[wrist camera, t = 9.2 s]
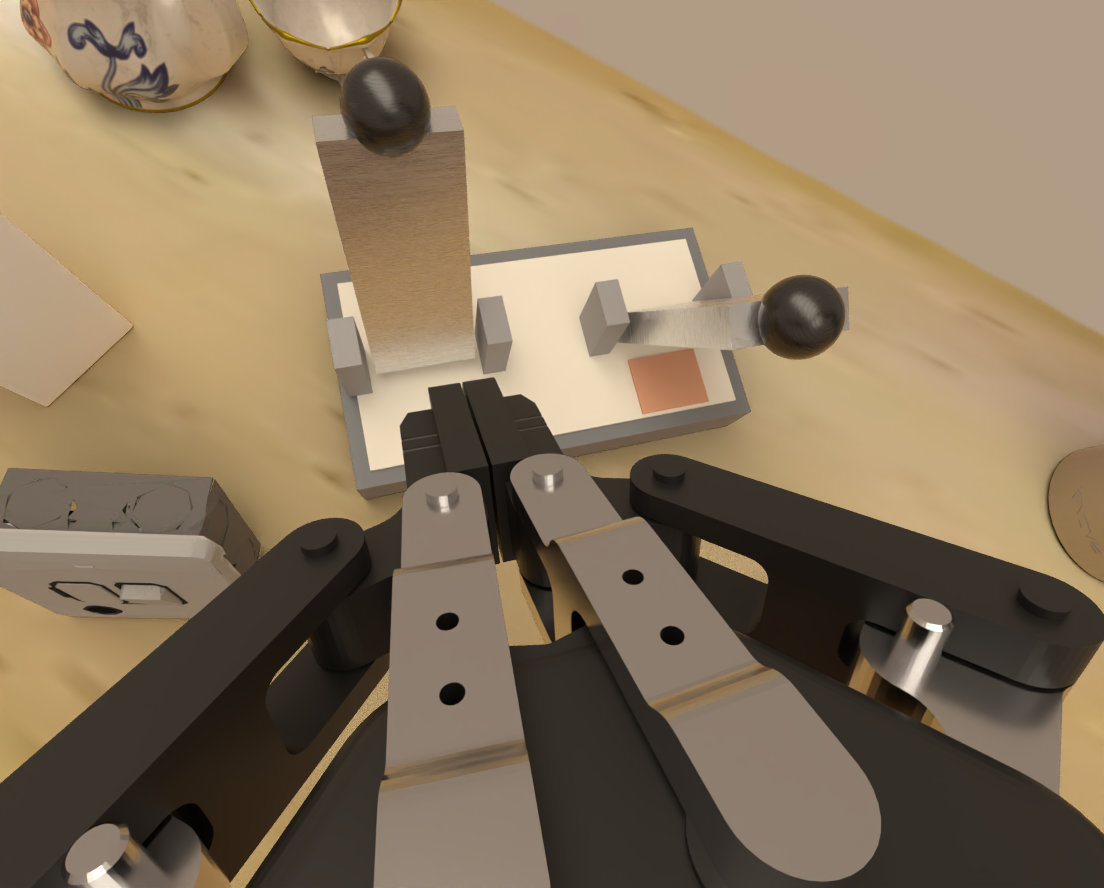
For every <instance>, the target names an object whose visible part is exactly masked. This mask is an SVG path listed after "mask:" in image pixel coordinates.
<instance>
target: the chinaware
mask: <svg viewBox="0 0 1104 888" xmlns="http://www.w3.org/2000/svg"><path fill="white" fill-rule="evenodd" d="M249 1H250V2H251V4H252V5H253V7H254V8H255V10H256V11H257V13H258V14H259V15H260V16H261V17H262V20H263V21H264V22H265V23H266V24H267V26H268V27H269V28H270V29H271V30H272V31H273V32H274V33H276V34H277V36H278V38H279V39H280V41H281V42H282V43H283V45H284V46H285V47H286V48H287V49H288V50H289V51H290V52H291V53H292V54H293V55H294V56H295V57H296V58H297V59H298V60H300V61H301V62H303V63H304V64H305V65H307V66H309V67H311V68H312V69H315V71H314V72H315V73H322V74H324V75H325V76H327V77H329V78H331V79H334V80H336V81H338V82H339V84H340V85H342V83H343V81H344V79H345V77H346V75H347V74H348V72H349V71H350V70H351V69H352V68H353V67H354V66H355V65H356V64H357V63H359V62H361V61H362V60H365V59H367V58H371V57H378V56H379V55H380V53H381V52H382V50H383V48H384V46H385V43H386V40H387V37H388V33H389V28H390V24H391V23H392V22H393V20H394V18H395V16H396V15H397V13H398V11H399V9H400V6H401V3H402V1H403V0H249ZM20 13H21V18H22V22H23V24H24V26H25V28H26V30H27V31H28V33H29V34H30V35H31V36H32V37H33V38H34V39H35V40H36V41H37V42H38V43H39V44H40V45H41V46H43V47H44V48H45V49H46V50H47V51H48V52H49V53H50V54H51V55H52V57H53V58H54V59H55V60H56V61H57V62H58V64H59V65H60V66H61V67H62V69H63V70H64V72H65V73H66V75H67V76H68V77H69V78H70V79H71V80H72V81H73V82H74V83H75V84H77V85H78V86H80V87H82V88H85V89H88V90H91V91H95V92H98V93H100V94H101V95H102V96H103V97H105V98H106V99H108V100H110V101H111V102H113V103H115V104H117V105H120V106H122V107H125V108H128V109H132V110H136V111H141V112H150V113H163V112H172V111H178V110H182V109H185V108H188V107H191V106H193V105H195V104H198V103H200V102H201V101H203V100H205V99H206V98H208V97H209V96H210V95H211V94H213V93H214V92H215V91H216V90H217V89H218V87H219V86H220V85H221V84H222V82H223V80H224V79H225V77H226V74H227V72H228V71H229V70H230V68H231V67H232V66H233V65H234V64H235V63H236V61H237V60H238V59H239V57H240V56H241V54H242V53H243V52H244V51H245V49H246V48H247V46H248V33H247V29H246V26H245V23H244V20H243V17H242V15H241V12H240V10H239V8H238V5H237V3H236V1H235V0H20Z"/></svg>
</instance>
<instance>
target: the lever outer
mask: <svg viewBox="0 0 1104 888" xmlns="http://www.w3.org/2000/svg"><path fill="white" fill-rule="evenodd" d="M340 109H341V114H338V115H324V116H312V119H313V127H314V135H315V142H316V146H317V150H318V154H319V158H320V161H321V165H322V169H323V173H324V177H325V180H326V184H327V188H328V192H329V196H330V199H331V203H332V207H333V211H334V215H335V218H336V222H337V226H338V230H339V234H340V237H341V241H342V245H343V249H344V253H345V256H346V260H347V264H348V268H349V272H350V275H351V279H352V283H353V287H354V291H355V294H356V298H357V302H358V306H359V310H360V313H361V317H362V321H363V325H364V329H365V332H366V336H367V340H368V344H369V348H370V351H371V355H372V359H373V363H374V367H375V370H376V374H380V373H386V372H393V371H399V370H405V369H411V368H417V367H424V366H430V365H436V364H442V363H448V362H455V361H461V360H467V359H473V358H475V347H474V327H473V307H472V286H471V266H470V246H469V226H468V205H467V185H466V165H465V144H464V129H463V127H462V124H461V121H460V118H459V115H458V113H457V110H456V107H455V106H450V107H436V108H430V102H429V98H428V94H427V92H426V90H425V87H424V85H423V84H422V82H421V80H420V79H419V78H418V76H417V75H416V74H415V73H414V72H413V71H412V70H411V69H410V68H409V67H407V66H406V65H404V64H403V63H401V62H399V61H397V60H395V59H392V58H388V57H371V58H367V59H365V60H362V61H361V62H359V63H357V64H356V65H355V66H354V67H353V68H352V69H351V70H350V71H349V72H348V74H347V75H346V77H345V79H344V81H343V83H342V87H341V91H340Z"/></svg>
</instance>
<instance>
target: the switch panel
mask: <svg viewBox="0 0 1104 888" xmlns="http://www.w3.org/2000/svg"><path fill="white" fill-rule="evenodd" d="M470 266H471V286H472V307H473V327H474V347H475V358H473V359H467V360H461V361H455V362H448V363H442V364H436V365H430V366H424V367H417V368H411V369H405V370H399V371H393V372H386V373H380V374H376V370H375V367H374V363H373V359H372V355H371V351H370V348H369V344H368V340H367V336H366V332H365V329H364V325H363V321H362V317H361V313H360V310H359V306H358V302H357V298H356V294H355V291H354V287H353V283H352V279H351V275H350V272H349V271H341V272H333V273H325V274H320V277H321V283H322V289H323V295H324V301H325V306H326V312H327V318H328V320H326V322H327V328H328V334H329V340H330V346H331V352H332V357H333V363H334V369H335V371H336V373H337V376H338V382H339V388H340V393H341V399H342V405H343V411H344V417H345V423H346V428H347V434H348V440H349V446H350V452H351V457H352V463H353V469H354V475H355V481H356V486H357V491H358V492H359V493H360V494H361V495H362V496H363V497H364V498H365V499H370V498H375V497H380V496H384V495H389V494H394V493H399V492H404V491H406V490H407V483H406V474H405V466H404V458H403V450H402V441H401V434H400V424H401V423H402V421H403V420H404V418H405V416H406V415H407V413H410V412H416V411H422V410H428V409H431V405H430V400H429V394H428V387H434V386H441V385H447V384H453V383H460V384H461V387H462V382H466V381H472V380H478V379H485V378H491V377H494V378H495V379H496V381H497V384H498V386H499V388H500V390H501V392H502V395H503V397H506V396H512V395H518V394H521V395H523V396H525V397H526V398H528V399H530V400H531V401H533V402H535V403H536V405H537V407H538V409H539V411H540V413H541V414H542V417H543V418H544V420H545V422H546V424H547V427H549V429H550V431H551V433H552V435H553V436H554V438H555V440H556V442H557V444H558V445H559V447H560V449H561V451H562V453H563V455H566V456H569V457H576V456H581V455H586V454H591V453H596V452H601V451H605V450H610V449H615V448H620V447H625V446H630V445H635V444H640V443H645V442H650V441H655V440H659V439H664V438H669V437H674V436H679V435H684V434H689V433H694V432H699V431H704V430H709V429H713V428H718V427H723V426H728V425H730V424H731V423H733V422H734V421H736V420H738V419H739V418H741V417H743V416H744V415H746V414H748V413H749V412H751V410H750V407H749V404H748V401H747V398H746V394H745V391H744V388H743V385H742V382H741V379H740V375H739V372H738V369H737V366H736V363H735V360H734V357H733V353H732V350H720V349H705V348H690V347H675V346H660V345H645V344H630V343H617V342H618V340H619V339H620V337H621V336H622V334H623V332H624V331H625V329H626V328H627V326H628V325H629V323H630V320H629V316H628V313H627V311H633V310H640V309H646V308H653V307H659V306H666V305H673V304H679V303H686V302H692V301H700V300H711V299H722V298H733V297H744V296H753V294H752V291H751V288H750V285H749V282H748V279H747V276H746V273H745V270H744V267H743V264H742V262H736V263H729V264H721V265H720V267H719V268H718V269H717V270H716V272H715V273H714V274H713V275H712V276H711V278H710V279H709V278H708V274H707V271H706V268H705V265H704V262H703V259H702V256H701V252H700V249H699V246H698V243H697V240H696V237H695V233H694V230H693V228H685V229H677V230H669V231H661V232H653V233H645V234H637V235H629V236H621V237H613V238H605V239H597V240H589V241H581V242H573V243H565V244H557V245H549V246H541V247H533V248H525V249H517V250H509V251H501V252H493V253H485V254H477V255H470ZM462 390H463V389H462Z"/></svg>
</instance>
